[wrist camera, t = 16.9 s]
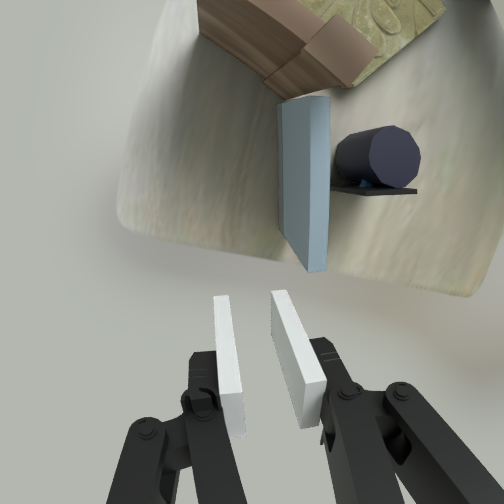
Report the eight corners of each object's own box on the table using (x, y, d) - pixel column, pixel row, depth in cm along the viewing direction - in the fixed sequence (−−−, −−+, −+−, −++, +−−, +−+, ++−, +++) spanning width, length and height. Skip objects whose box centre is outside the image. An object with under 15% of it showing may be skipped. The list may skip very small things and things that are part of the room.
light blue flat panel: (276, 104, 30) (308, 95, 20) (291, 104, 30) (330, 96, 20) (278, 228, 35) (307, 272, 25) (293, 228, 35) (326, 270, 25)
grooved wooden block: (216, 14, 26) (224, -63, 11) (305, 79, 30) (379, 51, 15) (195, 37, 27) (185, -30, 12) (285, 102, 30) (348, 87, 16)
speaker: (366, 203, 36) (415, 220, 26) (322, 188, 35) (362, 200, 25) (383, 143, 34) (437, 141, 24) (341, 124, 33) (386, 114, 23)
